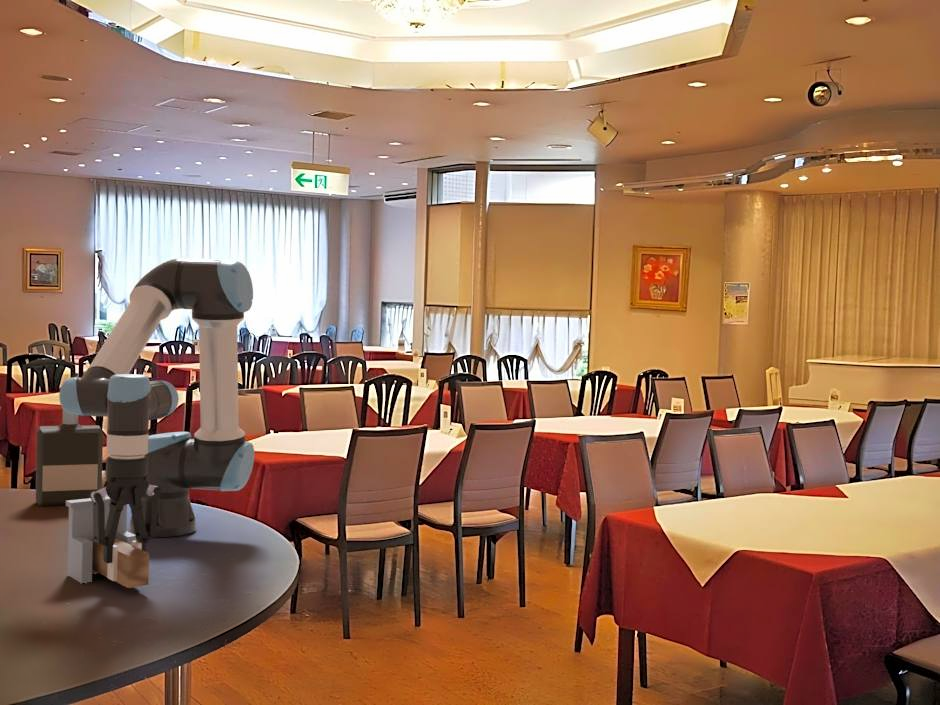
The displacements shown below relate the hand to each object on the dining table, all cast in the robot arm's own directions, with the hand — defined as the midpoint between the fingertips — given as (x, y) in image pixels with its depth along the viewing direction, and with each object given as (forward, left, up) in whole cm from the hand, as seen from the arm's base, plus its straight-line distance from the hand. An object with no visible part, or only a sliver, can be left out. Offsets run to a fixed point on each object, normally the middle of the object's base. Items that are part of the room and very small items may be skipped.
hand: (124, 577), depth 194 cm
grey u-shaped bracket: (0, -10, -2) cm, 11 cm away
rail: (0, -2, 0) cm, 2 cm away
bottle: (-21, -81, -2) cm, 84 cm away
